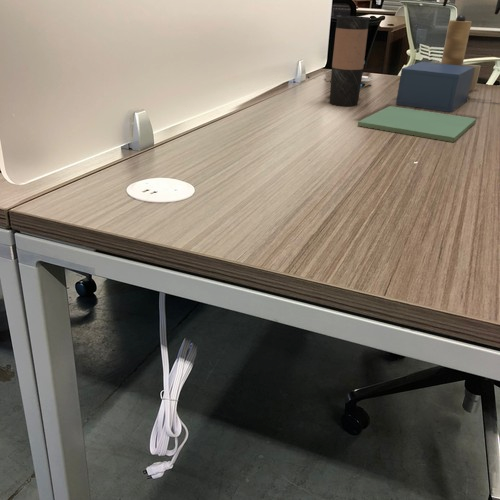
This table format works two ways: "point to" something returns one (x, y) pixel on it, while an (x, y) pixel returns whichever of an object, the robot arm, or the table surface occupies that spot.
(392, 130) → the mat
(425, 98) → the cabinet
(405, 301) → the table surface
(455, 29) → the pepper mill
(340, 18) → the travel mug
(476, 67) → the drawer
